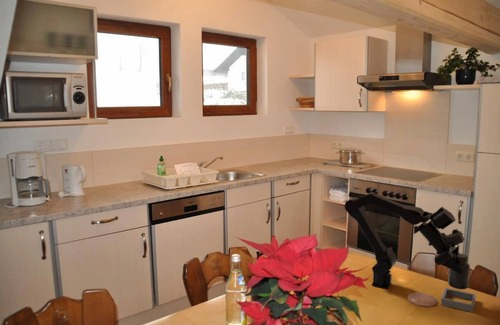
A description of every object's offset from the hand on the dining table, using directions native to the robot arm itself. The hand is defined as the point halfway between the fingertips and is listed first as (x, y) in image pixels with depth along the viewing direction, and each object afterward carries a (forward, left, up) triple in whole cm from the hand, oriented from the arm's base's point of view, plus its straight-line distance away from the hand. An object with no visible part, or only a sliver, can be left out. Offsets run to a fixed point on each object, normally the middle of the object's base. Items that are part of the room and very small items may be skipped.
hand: (463, 269), depth 154 cm
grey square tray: (-1, 0, -13) cm, 13 cm away
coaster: (-13, -5, -13) cm, 19 cm away
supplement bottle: (-1, 0, -7) cm, 7 cm away
